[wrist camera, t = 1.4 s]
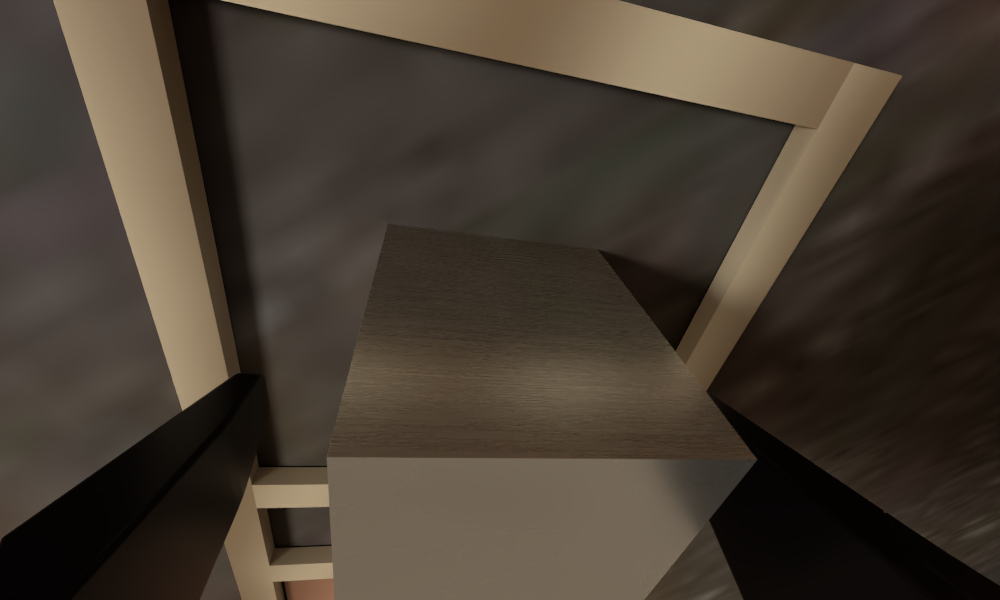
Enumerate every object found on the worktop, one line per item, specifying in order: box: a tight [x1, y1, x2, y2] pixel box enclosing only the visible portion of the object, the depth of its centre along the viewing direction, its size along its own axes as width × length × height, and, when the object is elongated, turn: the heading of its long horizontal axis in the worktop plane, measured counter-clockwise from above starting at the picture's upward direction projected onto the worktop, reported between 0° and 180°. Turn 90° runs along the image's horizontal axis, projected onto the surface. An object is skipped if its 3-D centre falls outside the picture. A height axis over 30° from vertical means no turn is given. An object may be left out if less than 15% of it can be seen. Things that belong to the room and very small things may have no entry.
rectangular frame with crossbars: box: [53, 0, 902, 600], centre depth 15 cm, size 14×32×1 cm, turn 169°
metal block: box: [327, 224, 757, 600], centre depth 8 cm, size 5×5×6 cm
